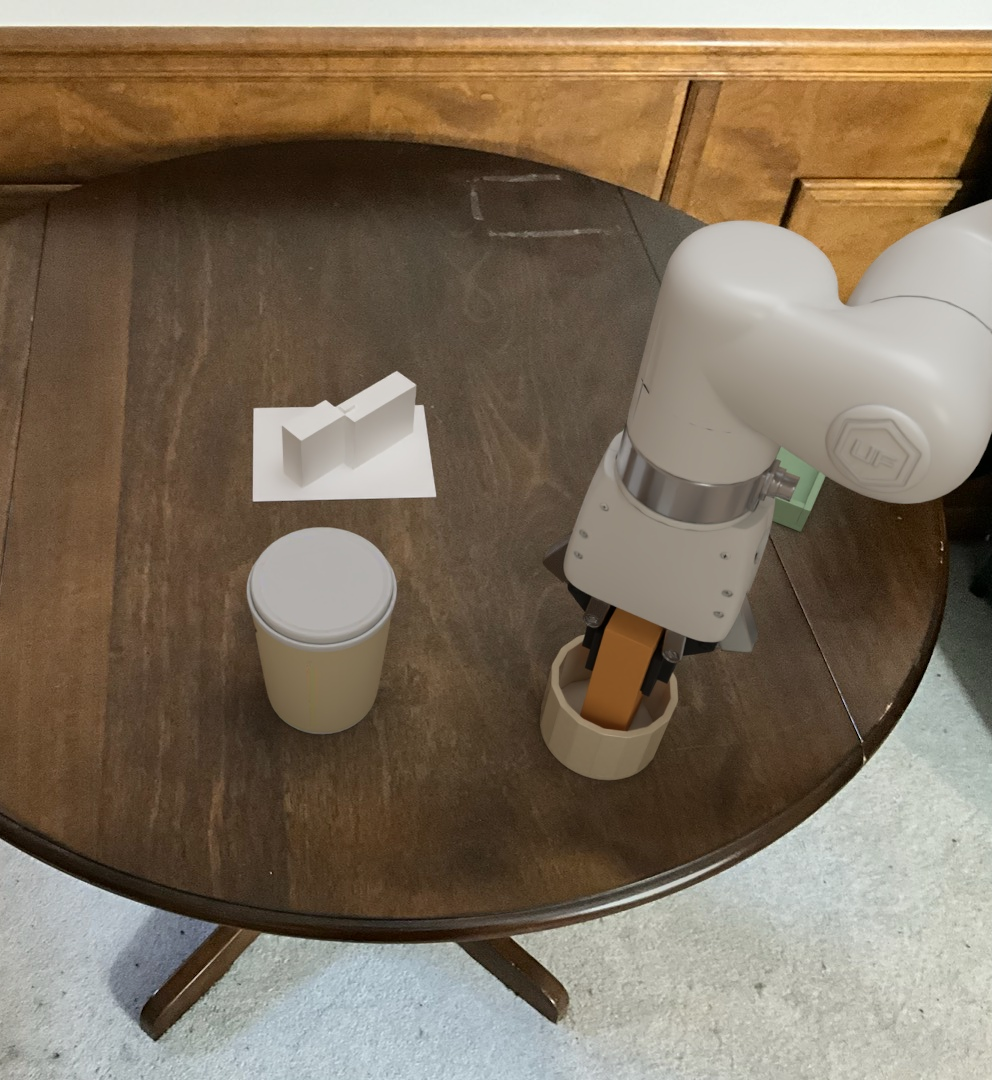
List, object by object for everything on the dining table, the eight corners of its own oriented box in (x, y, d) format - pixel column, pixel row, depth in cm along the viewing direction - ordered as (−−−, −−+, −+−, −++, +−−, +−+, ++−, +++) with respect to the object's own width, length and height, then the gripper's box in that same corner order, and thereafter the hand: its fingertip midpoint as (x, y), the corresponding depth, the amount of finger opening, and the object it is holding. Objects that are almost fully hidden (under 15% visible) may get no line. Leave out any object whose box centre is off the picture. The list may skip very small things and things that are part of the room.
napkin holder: (423, 403, 98) (427, 352, 94) (438, 496, 90) (443, 446, 86) (251, 408, 97) (248, 356, 92) (252, 503, 89) (249, 452, 85)
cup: (675, 709, 78) (695, 664, 74) (633, 801, 73) (651, 758, 69) (567, 660, 80) (580, 613, 76) (520, 745, 75) (531, 700, 71)
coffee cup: (311, 613, 82) (309, 501, 73) (415, 677, 79) (426, 568, 70) (227, 698, 77) (214, 589, 68) (335, 770, 73) (336, 666, 64)
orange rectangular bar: (639, 706, 76) (678, 597, 67) (615, 756, 74) (652, 649, 65) (598, 688, 77) (632, 578, 68) (573, 736, 75) (604, 628, 66)
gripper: (870, 473, 57) (767, 678, 70) (574, 365, 62) (532, 577, 75) (832, 569, 52) (730, 769, 66) (517, 445, 57) (483, 654, 71)
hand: (625, 665), depth 71 cm, fingers closed on orange rectangular bar, 3 cm apart
